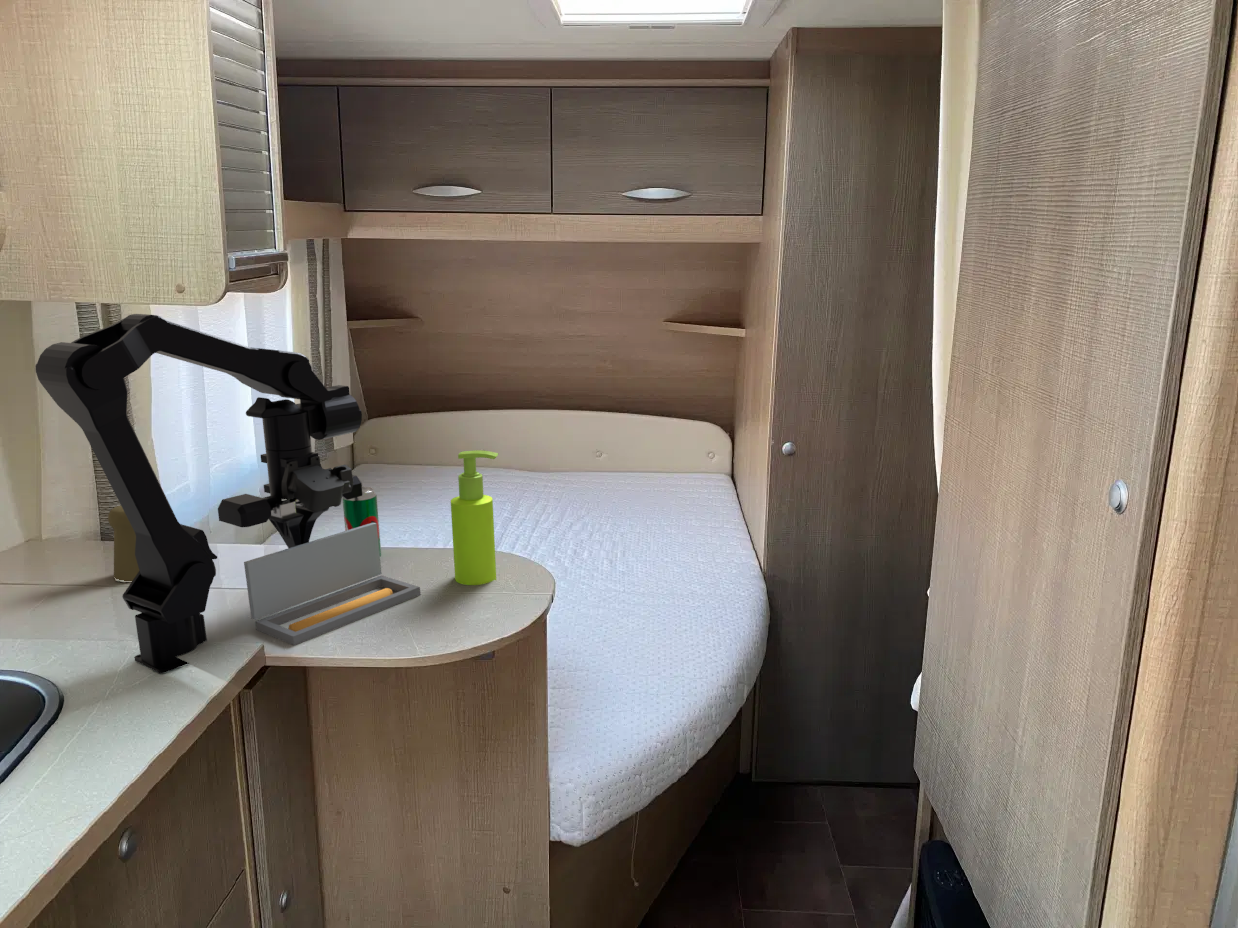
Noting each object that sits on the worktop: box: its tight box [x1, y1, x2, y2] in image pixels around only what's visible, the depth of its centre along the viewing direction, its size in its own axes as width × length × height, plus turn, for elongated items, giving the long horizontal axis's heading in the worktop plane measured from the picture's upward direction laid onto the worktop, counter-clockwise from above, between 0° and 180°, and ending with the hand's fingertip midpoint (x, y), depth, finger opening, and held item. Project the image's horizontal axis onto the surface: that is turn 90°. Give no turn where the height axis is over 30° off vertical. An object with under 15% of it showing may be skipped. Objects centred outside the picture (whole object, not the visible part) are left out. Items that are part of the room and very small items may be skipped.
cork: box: [107, 504, 140, 581], centre depth 140 cm, size 6×6×11 cm
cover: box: [243, 523, 382, 621], centre depth 124 cm, size 20×8×1 cm
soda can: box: [342, 486, 382, 558], centre depth 143 cm, size 5×5×12 cm
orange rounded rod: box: [288, 587, 394, 632], centre depth 123 cm, size 16×2×2 cm, turn 143°
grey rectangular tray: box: [254, 574, 421, 646], centre depth 123 cm, size 20×8×2 cm, turn 143°
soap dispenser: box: [450, 449, 499, 586], centre depth 132 cm, size 6×7×20 cm
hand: (299, 558), depth 126 cm, fingers closed
